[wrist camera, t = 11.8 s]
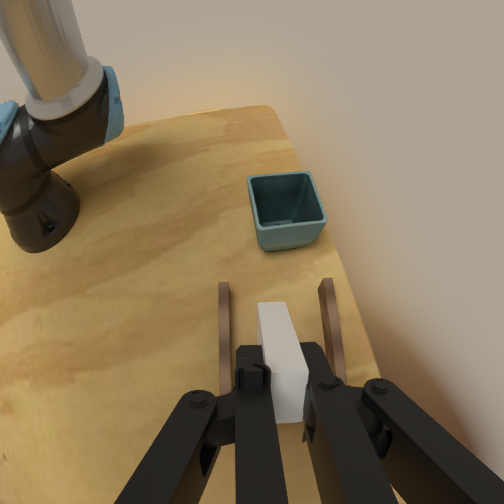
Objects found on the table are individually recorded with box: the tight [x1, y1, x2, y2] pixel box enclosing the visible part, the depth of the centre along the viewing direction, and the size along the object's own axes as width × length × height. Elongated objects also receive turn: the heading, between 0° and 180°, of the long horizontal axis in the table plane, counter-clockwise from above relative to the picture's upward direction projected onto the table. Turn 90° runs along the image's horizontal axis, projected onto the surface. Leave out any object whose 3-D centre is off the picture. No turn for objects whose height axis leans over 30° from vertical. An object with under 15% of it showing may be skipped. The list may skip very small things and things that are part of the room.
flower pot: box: [247, 171, 328, 251], centre depth 42 cm, size 9×9×9 cm
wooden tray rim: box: [219, 278, 347, 419], centre depth 36 cm, size 17×14×4 cm
